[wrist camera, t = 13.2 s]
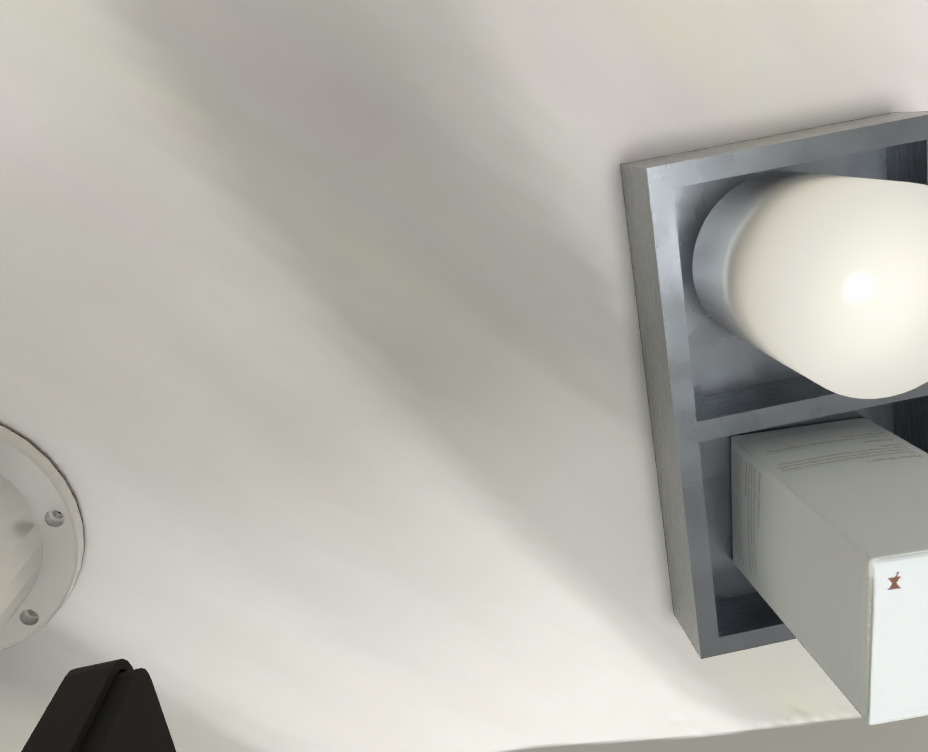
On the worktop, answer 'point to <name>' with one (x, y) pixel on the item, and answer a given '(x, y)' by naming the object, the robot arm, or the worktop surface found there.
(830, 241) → the white rounded cylinder
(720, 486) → the divided grey tray
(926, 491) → the supplement box
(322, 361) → the worktop surface
